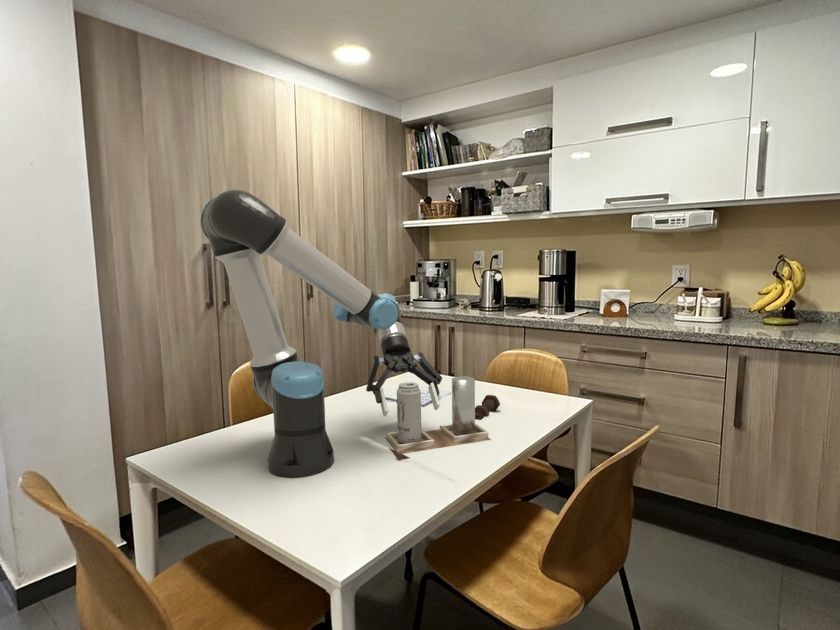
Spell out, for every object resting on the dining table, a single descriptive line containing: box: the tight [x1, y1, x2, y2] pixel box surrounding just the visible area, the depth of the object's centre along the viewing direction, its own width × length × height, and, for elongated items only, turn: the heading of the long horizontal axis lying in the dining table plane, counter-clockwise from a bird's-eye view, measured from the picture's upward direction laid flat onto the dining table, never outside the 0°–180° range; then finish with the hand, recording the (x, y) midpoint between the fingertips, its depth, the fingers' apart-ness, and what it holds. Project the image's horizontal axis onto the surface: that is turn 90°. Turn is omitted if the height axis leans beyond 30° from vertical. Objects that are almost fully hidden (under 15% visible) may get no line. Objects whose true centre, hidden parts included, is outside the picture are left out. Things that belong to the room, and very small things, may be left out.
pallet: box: [384, 423, 492, 461], centre depth 123 cm, size 25×12×3 cm, turn 110°
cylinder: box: [451, 375, 476, 436], centre depth 125 cm, size 6×6×15 cm
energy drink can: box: [396, 381, 422, 444], centre depth 120 cm, size 6×6×15 cm
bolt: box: [475, 394, 501, 421], centre depth 145 cm, size 6×5×15 cm
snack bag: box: [384, 385, 452, 407], centre depth 169 cm, size 19×20×2 cm
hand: (412, 410), depth 119 cm, fingers open, 13 cm apart
